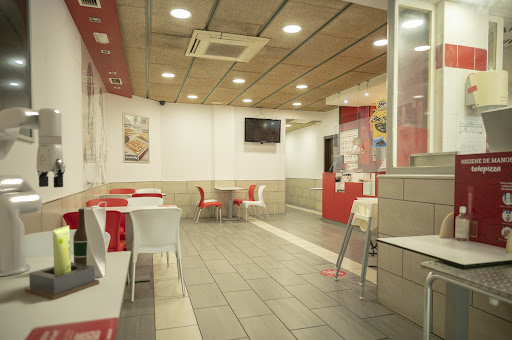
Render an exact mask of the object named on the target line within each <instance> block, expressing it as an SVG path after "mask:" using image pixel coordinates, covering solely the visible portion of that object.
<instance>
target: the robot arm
mask: <svg viewBox="0 0 512 340" xmlns="http://www.w3.org/2000/svg"><path fill="white" fill-rule="evenodd" d="M21 129H28V130H29V129H30V130H37V134H38V135H37V137H38V140H37V141H38V146H37V153H36V171H37V174H38V175H37V176H38V188H45V187H49V176H48V175H49V173H50V172H52V173H53V175H54V176H53V187H54V188H55V189H56V188H63V187H64V176H65V171H66V164H65V163H64V158H63V157H64V156H63V155H64V154H63V149H62V145H63V139H62V138H63V137H62V134H63V133H62V113H61V111H60V109H56V108H46V107H44V108H40V109H33V108H28V107H19V106H18V107H17V106H15V107H10V108H6V109H2V110H0V161H1V160H5V158H7V156H8V155H9V153H10V151H11V150H12V148H13V146H14V145H15V143H16V141H17V139H18V138H19V134H20V130H21ZM42 206H43V200H42V197H41V195H40V194H39V192H38V191H37V190H36V189H35V188H34V187H33V186H32V184H31V183H30V182H29V181H28V180H27V179H26V178H25V177H23V176H22V175H17V174H16V175H15V174H10V175H9V174H1V173H0V277H6V276H8V277H9V276H13V275H18V274H22V273H25V272H27V271H29V270H30V269H31V265H30V264H26V263H27V261H26V232H25V231H26V230H25V225H24V222H23V221H22V220H21V218H20V217H19V216H23V215H24V216H25V215H30V214H35V213H38V212H39V211H40V210H41V209H42Z"/></svg>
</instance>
